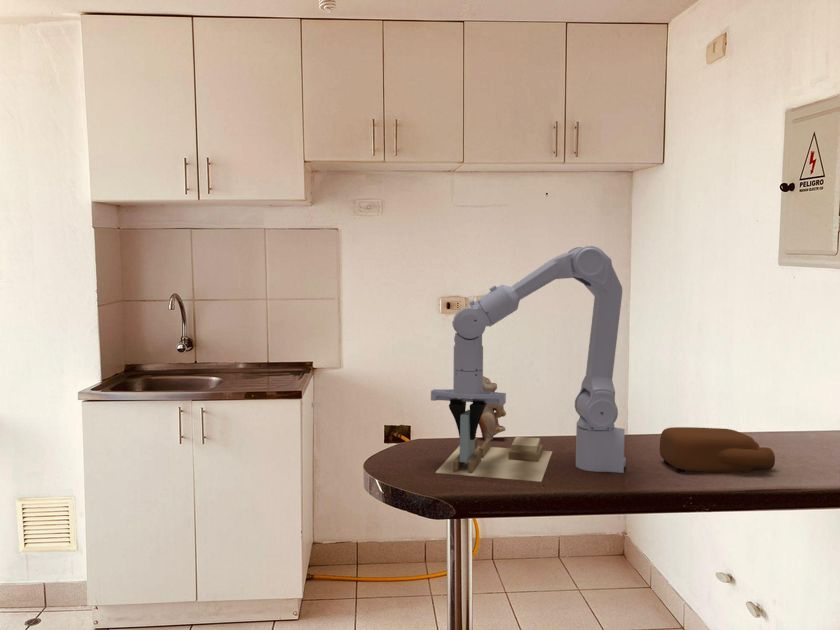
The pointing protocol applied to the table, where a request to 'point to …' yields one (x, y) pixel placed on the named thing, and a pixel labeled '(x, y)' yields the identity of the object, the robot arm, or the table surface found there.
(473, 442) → the grey blue slab
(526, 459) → the plate
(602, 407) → the robot arm
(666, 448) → the toy
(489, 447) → the rack
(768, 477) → the table surface
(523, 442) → the offcut top
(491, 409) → the figurine
